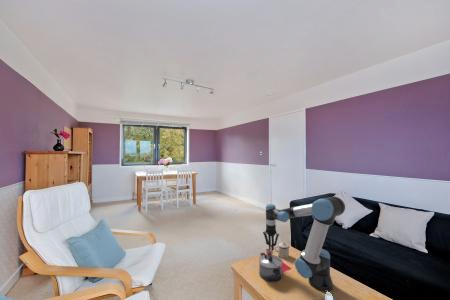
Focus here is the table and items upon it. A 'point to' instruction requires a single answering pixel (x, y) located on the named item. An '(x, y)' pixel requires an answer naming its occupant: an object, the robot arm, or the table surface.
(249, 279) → the table surface
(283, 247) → the teacup with lid
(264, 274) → the cooker pot
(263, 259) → the lid
